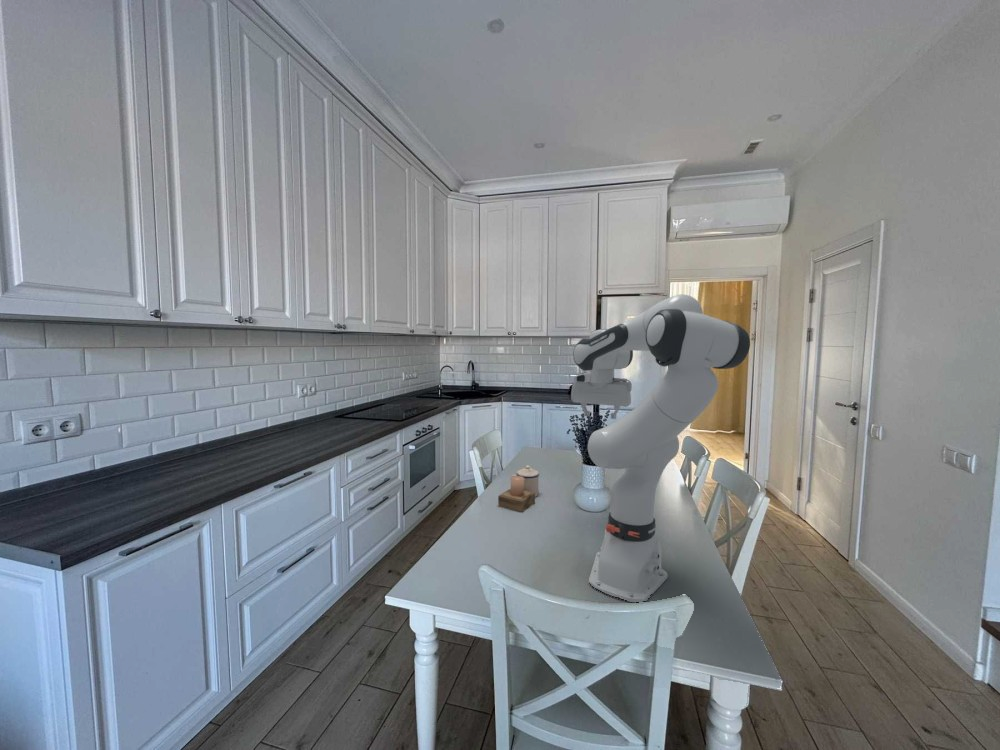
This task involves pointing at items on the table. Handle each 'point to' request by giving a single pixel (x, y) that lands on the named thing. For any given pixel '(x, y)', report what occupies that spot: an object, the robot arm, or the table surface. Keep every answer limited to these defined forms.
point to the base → (516, 501)
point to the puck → (517, 485)
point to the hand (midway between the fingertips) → (599, 417)
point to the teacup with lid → (529, 479)
